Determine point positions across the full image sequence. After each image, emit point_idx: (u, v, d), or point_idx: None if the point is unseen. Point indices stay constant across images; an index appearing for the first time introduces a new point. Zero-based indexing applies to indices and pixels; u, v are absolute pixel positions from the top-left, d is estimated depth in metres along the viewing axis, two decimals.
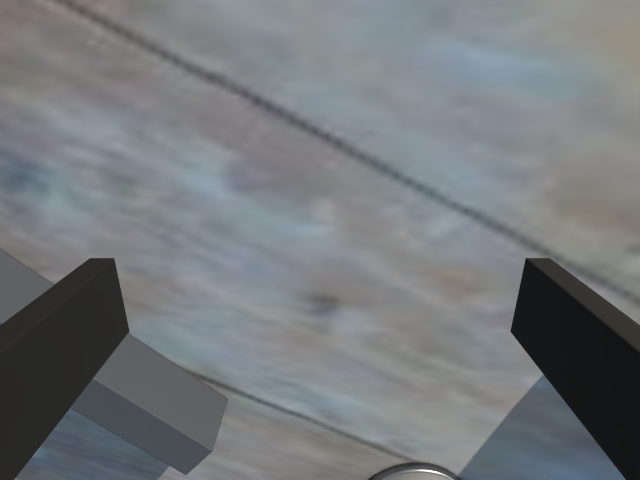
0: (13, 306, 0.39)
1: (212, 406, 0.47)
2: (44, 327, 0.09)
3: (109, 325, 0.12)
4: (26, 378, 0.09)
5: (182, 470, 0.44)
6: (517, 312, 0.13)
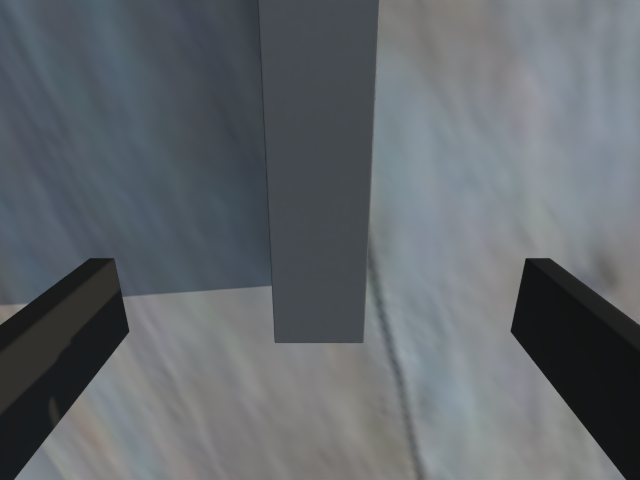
0: None
1: None
2: (44, 327, 0.09)
3: (109, 325, 0.12)
4: (26, 378, 0.09)
5: (281, 331, 0.22)
6: (517, 312, 0.13)
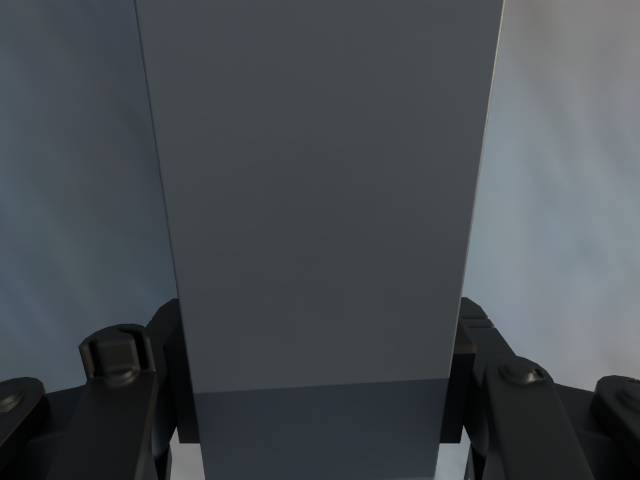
0: None
1: None
2: None
3: None
4: None
5: None
6: None
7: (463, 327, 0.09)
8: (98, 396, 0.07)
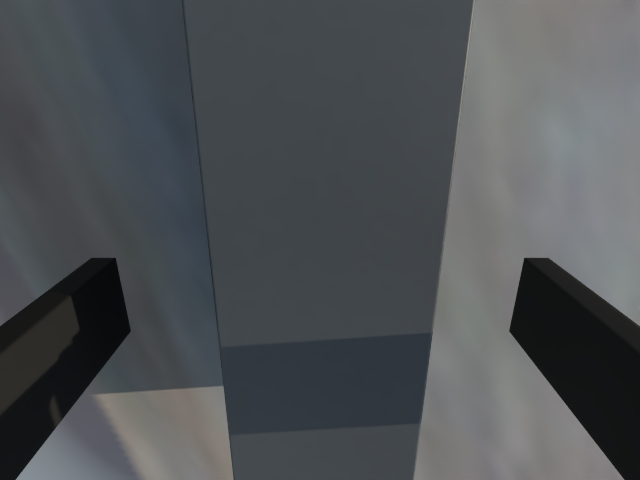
0: None
1: None
2: (46, 326, 0.09)
3: (111, 325, 0.12)
4: (28, 377, 0.09)
5: None
6: (516, 311, 0.13)
7: None
8: None
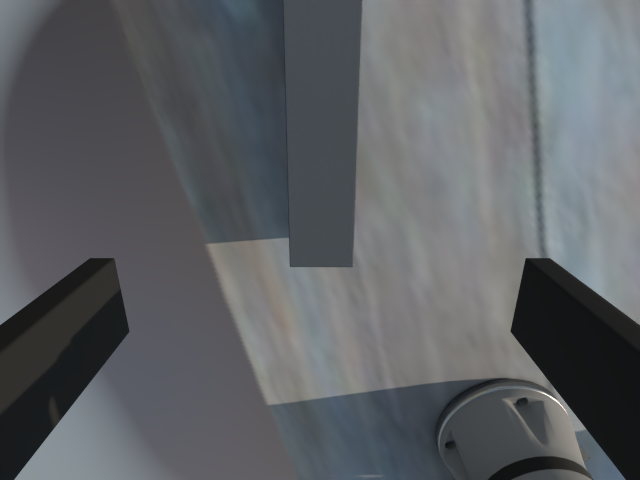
0: None
1: None
2: (44, 327, 0.09)
3: (109, 325, 0.12)
4: (26, 378, 0.09)
5: (294, 258, 0.31)
6: (517, 312, 0.13)
7: None
8: None
